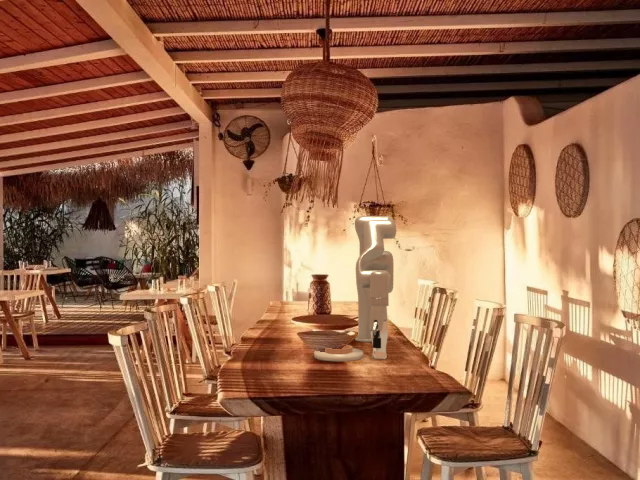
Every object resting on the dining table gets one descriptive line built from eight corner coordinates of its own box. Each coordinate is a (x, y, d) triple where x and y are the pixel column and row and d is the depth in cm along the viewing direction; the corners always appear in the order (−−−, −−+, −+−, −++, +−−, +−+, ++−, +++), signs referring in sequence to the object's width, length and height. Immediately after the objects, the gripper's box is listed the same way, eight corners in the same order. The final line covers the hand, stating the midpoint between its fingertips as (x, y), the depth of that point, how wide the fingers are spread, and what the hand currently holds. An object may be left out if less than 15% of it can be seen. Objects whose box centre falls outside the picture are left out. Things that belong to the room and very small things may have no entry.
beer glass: (368, 358, 242) (367, 321, 242) (374, 355, 248) (374, 319, 248) (384, 360, 239) (384, 322, 239) (390, 357, 245) (390, 320, 245)
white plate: (349, 350, 260) (349, 341, 260) (371, 358, 241) (371, 348, 241) (306, 354, 252) (306, 344, 252) (326, 363, 233) (326, 352, 233)
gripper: (376, 299, 253) (376, 342, 253) (363, 303, 237) (364, 349, 237) (393, 300, 250) (394, 343, 250) (382, 304, 234) (382, 350, 234)
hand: (379, 346), depth 244 cm, fingers closed on beer glass, 6 cm apart
